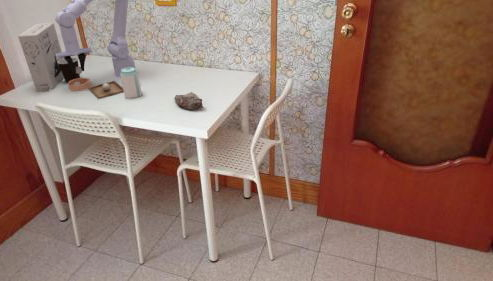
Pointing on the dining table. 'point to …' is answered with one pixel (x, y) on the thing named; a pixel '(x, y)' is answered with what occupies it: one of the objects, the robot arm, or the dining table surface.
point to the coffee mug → (68, 69)
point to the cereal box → (42, 55)
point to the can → (130, 82)
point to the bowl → (84, 84)
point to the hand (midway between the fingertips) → (78, 71)
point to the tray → (101, 93)
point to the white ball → (106, 87)
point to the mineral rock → (189, 101)
